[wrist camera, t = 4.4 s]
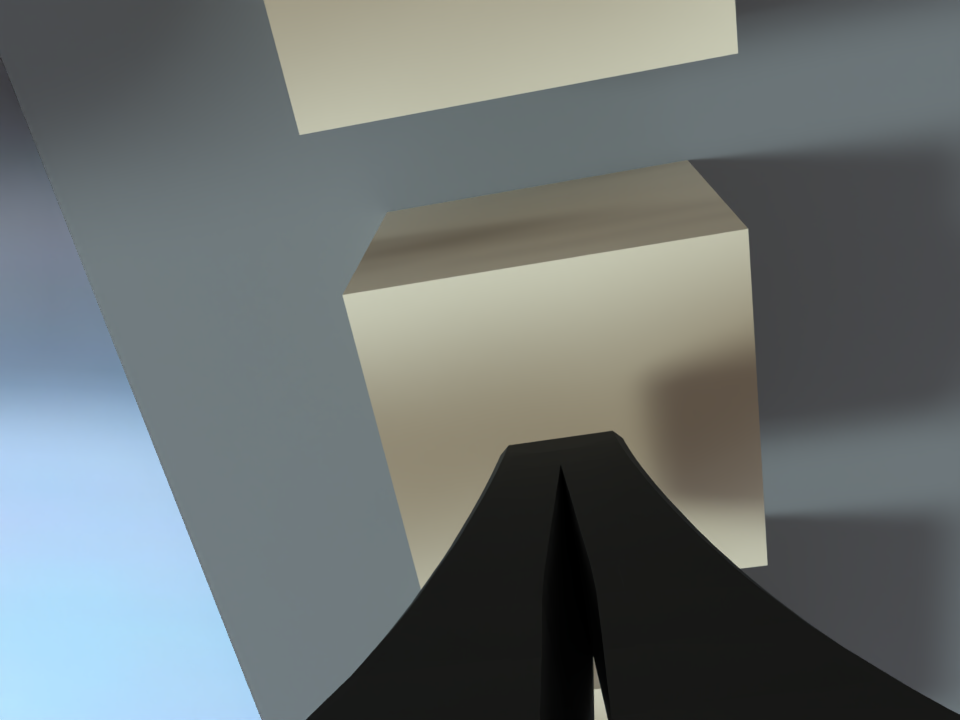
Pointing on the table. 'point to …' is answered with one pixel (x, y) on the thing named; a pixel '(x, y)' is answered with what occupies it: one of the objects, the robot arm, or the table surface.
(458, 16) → the block numbered 7
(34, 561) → the table surface
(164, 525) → the table surface
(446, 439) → the plain block
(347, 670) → the mat
